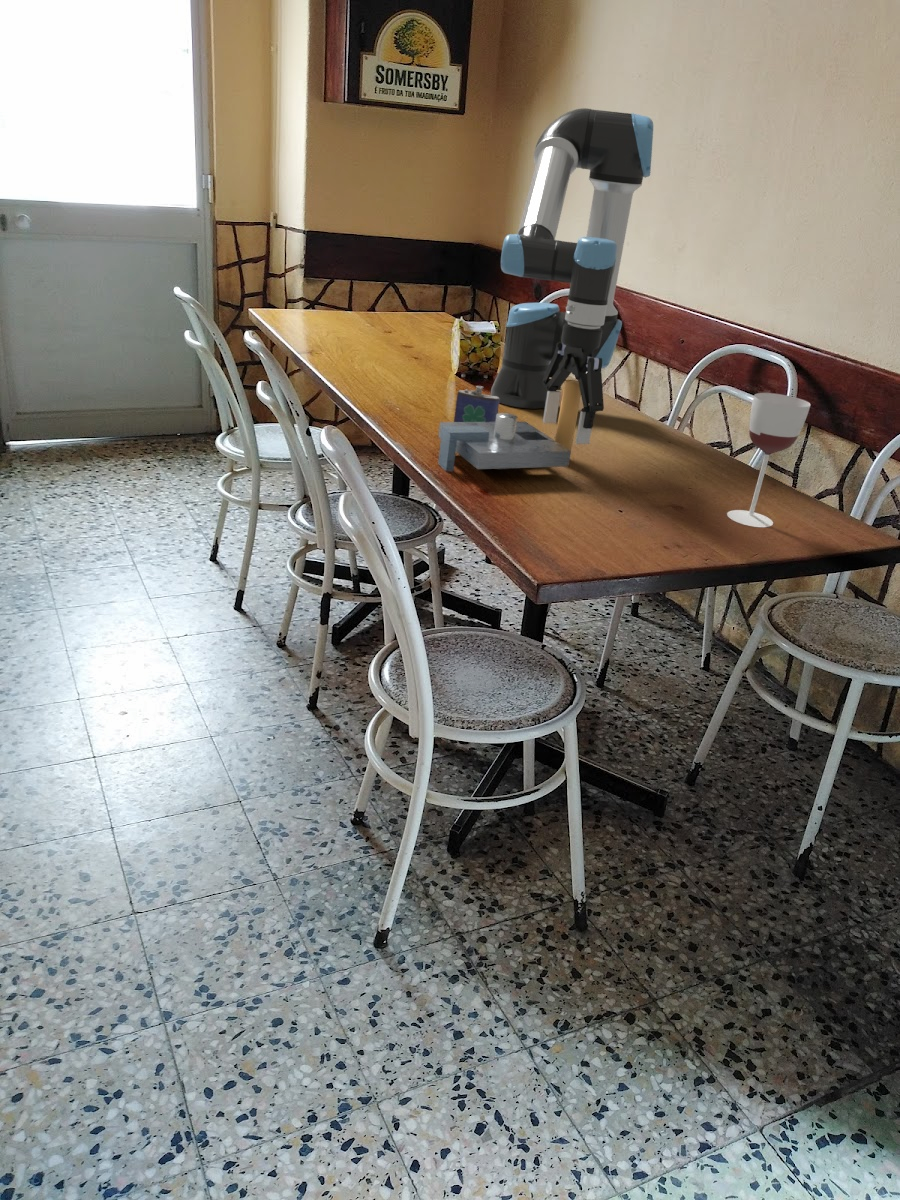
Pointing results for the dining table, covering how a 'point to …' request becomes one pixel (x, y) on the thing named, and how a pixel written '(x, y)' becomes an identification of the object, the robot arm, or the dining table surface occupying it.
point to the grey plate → (499, 445)
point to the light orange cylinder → (568, 413)
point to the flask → (476, 406)
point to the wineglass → (771, 440)
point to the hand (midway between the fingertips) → (565, 432)
